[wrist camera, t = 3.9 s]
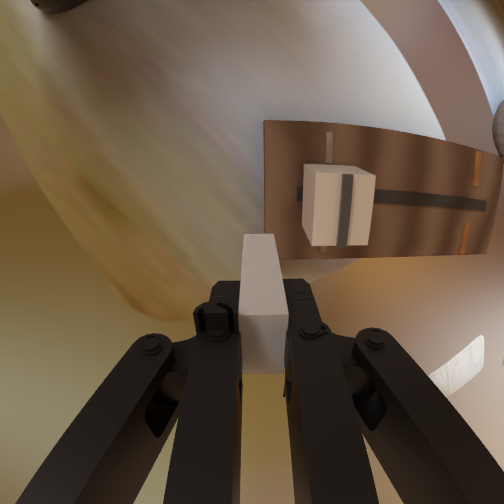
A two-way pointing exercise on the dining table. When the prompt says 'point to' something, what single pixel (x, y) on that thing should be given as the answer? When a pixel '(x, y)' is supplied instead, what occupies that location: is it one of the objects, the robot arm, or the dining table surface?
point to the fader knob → (337, 204)
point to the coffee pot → (499, 129)
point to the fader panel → (383, 189)
